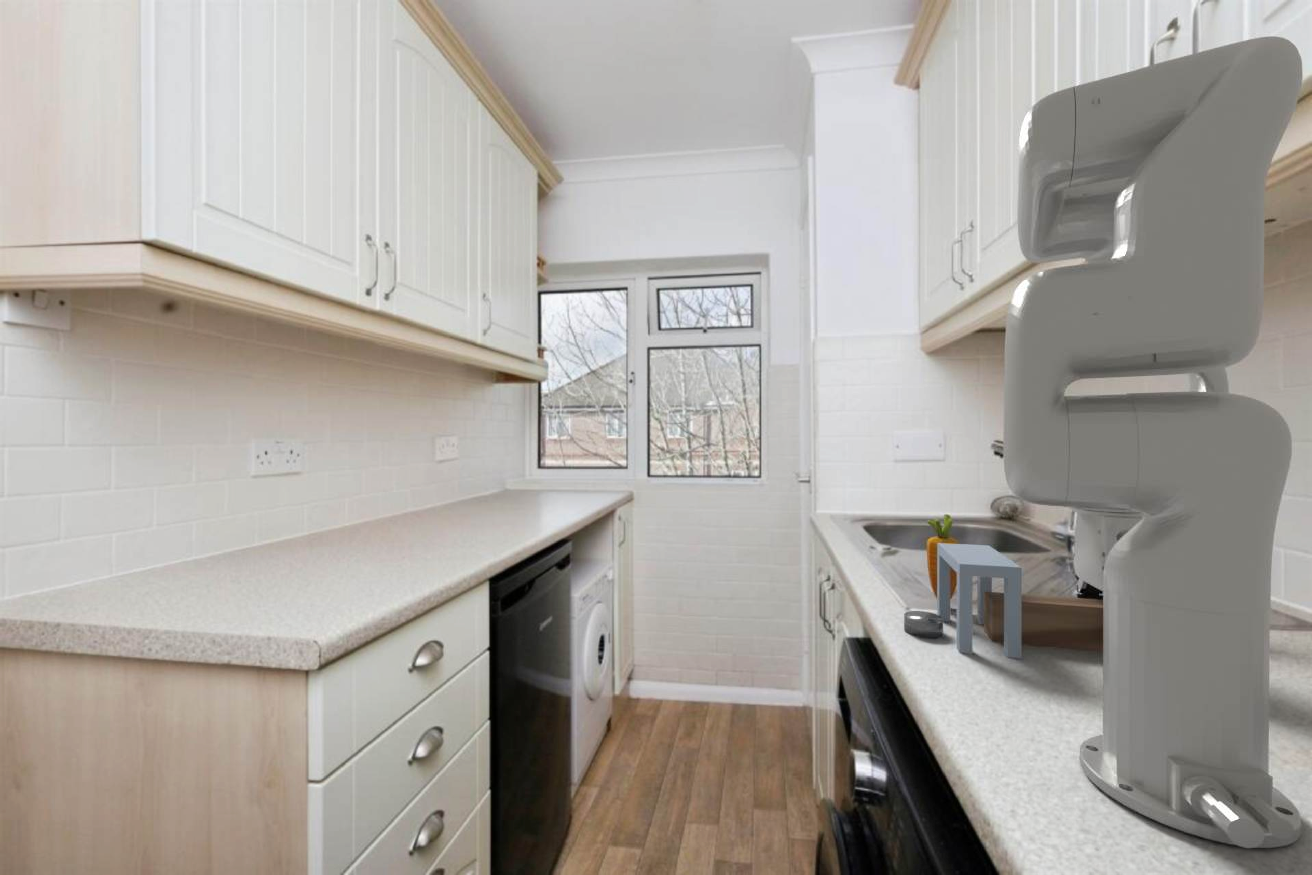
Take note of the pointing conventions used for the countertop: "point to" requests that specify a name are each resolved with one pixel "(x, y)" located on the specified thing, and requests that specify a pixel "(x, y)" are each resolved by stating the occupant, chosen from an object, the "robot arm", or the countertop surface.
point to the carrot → (932, 553)
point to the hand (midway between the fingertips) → (1107, 634)
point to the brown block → (1049, 621)
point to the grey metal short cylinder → (923, 624)
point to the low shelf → (979, 591)
